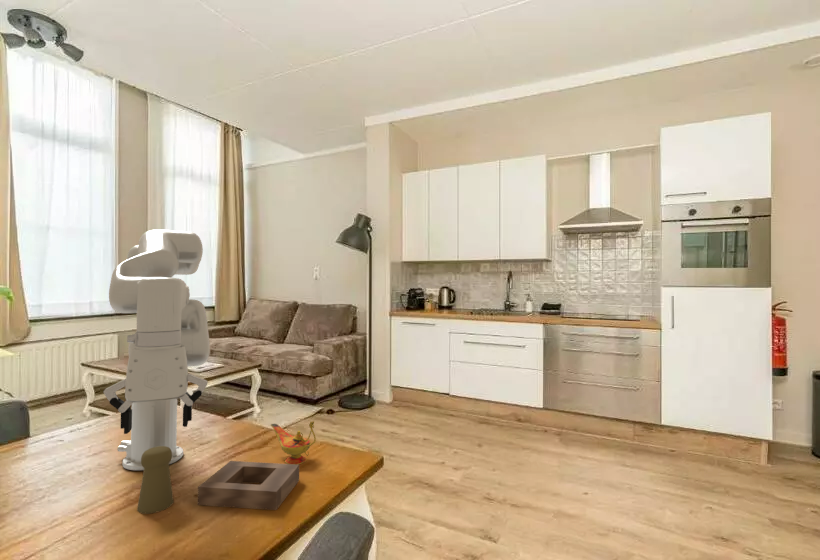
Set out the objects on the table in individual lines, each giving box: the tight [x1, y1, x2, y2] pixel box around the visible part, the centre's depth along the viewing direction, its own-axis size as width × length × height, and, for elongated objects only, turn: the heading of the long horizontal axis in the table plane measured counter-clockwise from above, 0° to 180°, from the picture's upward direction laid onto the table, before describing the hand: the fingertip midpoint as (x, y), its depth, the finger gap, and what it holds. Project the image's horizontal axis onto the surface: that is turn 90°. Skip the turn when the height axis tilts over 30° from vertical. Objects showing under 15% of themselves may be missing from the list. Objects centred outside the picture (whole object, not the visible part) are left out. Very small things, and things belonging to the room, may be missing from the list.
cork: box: [136, 446, 174, 515], centre depth 80 cm, size 6×6×11 cm
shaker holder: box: [197, 460, 300, 511], centre depth 85 cm, size 16×12×4 cm
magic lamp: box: [270, 420, 317, 465], centre depth 102 cm, size 7×18×11 cm, turn 52°
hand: (157, 428), depth 80 cm, fingers open, 9 cm apart
